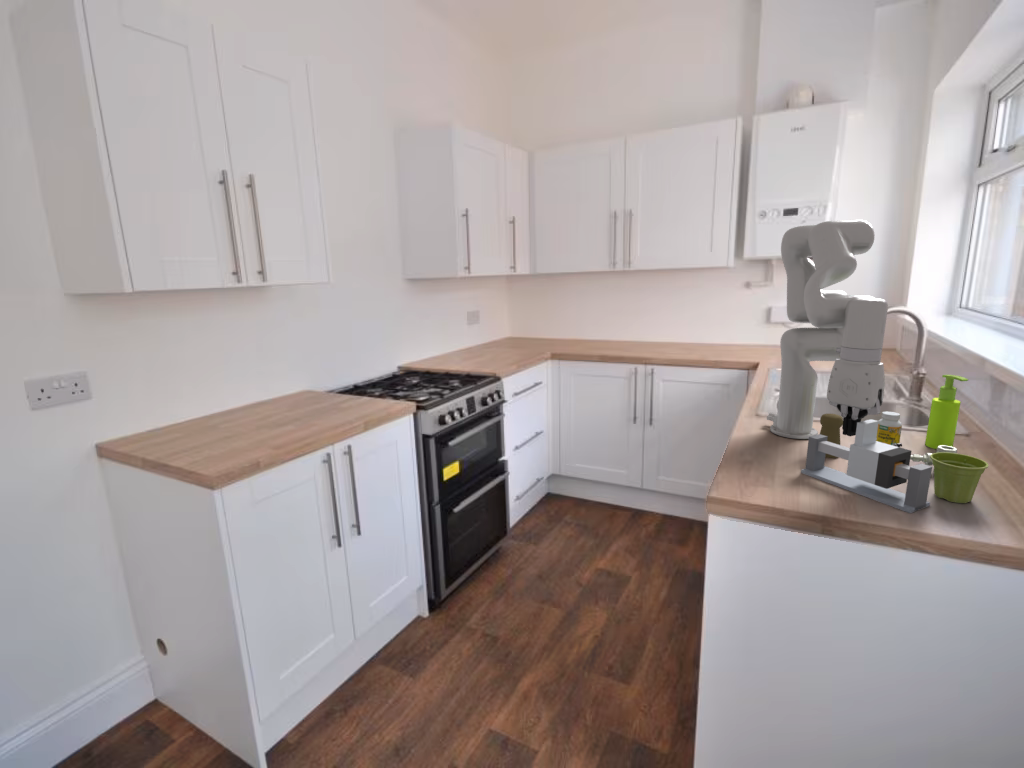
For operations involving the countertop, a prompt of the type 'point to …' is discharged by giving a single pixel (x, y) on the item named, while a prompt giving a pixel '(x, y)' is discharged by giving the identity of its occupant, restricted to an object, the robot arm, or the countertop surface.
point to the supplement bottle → (889, 428)
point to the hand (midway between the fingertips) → (850, 434)
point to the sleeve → (866, 452)
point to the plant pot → (956, 475)
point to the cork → (831, 429)
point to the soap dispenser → (944, 415)
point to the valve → (926, 457)
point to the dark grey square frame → (891, 467)
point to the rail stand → (906, 502)
